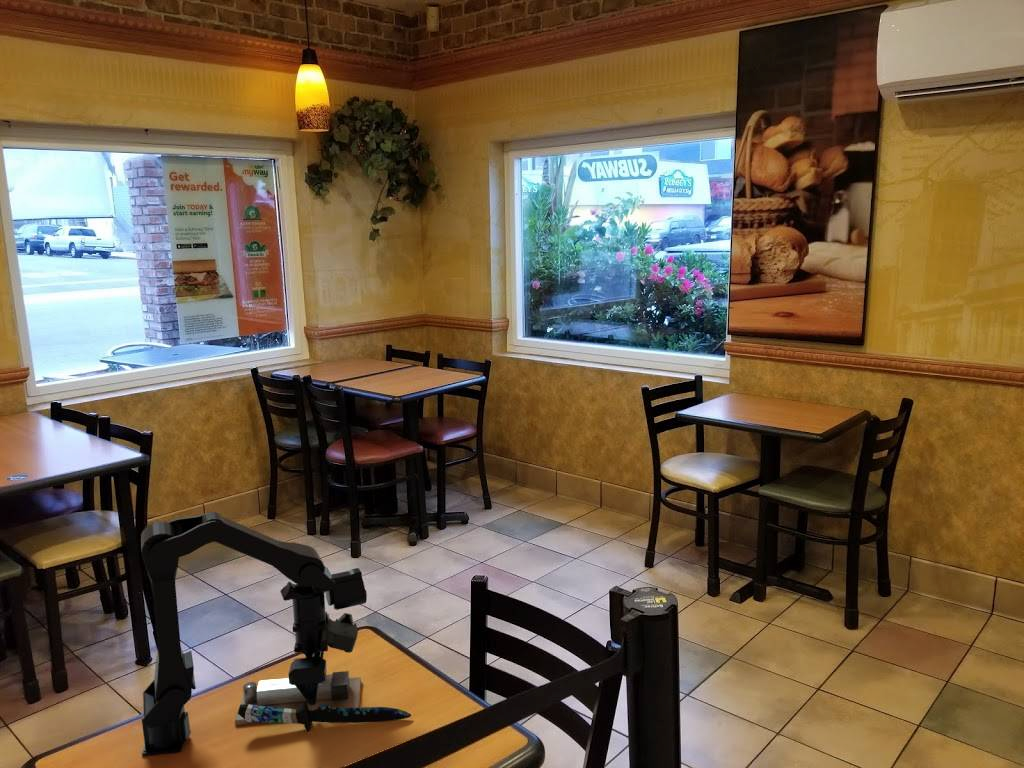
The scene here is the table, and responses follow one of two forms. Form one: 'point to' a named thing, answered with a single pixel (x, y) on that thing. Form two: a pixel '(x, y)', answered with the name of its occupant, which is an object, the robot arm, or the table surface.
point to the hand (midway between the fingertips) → (315, 689)
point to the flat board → (317, 701)
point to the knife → (319, 714)
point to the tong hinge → (250, 693)
